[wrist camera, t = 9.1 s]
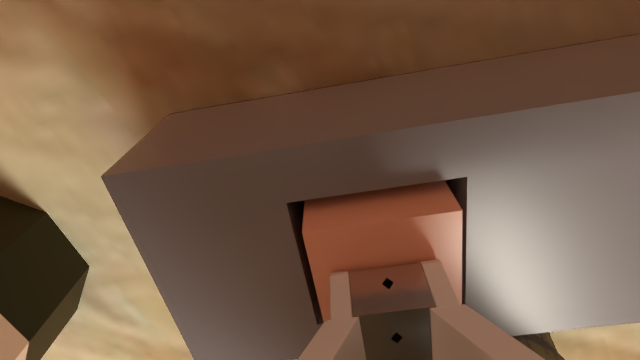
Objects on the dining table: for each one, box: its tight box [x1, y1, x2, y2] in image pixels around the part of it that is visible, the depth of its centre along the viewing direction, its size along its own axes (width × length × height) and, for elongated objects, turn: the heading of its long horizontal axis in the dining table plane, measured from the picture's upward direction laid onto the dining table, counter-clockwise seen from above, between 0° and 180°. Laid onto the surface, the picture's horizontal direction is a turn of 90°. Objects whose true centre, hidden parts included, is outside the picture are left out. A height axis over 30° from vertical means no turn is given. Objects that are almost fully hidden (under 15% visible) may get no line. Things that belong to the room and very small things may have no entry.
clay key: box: [302, 180, 463, 322], centre depth 12 cm, size 4×4×4 cm
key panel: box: [101, 34, 640, 360], centre depth 13 cm, size 25×8×5 cm, turn 100°
